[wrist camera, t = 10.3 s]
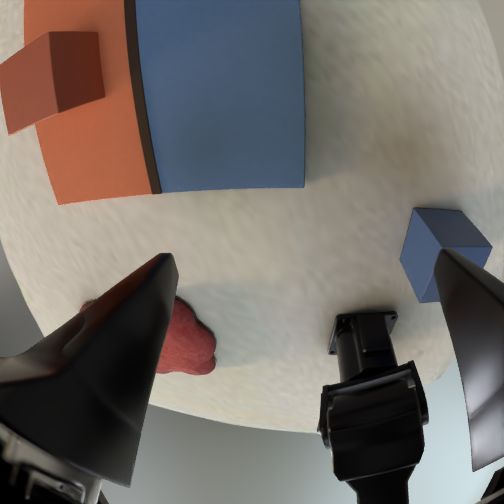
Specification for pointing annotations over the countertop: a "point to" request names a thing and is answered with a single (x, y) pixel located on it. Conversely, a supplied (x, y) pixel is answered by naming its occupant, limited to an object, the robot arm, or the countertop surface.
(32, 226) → the countertop surface
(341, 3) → the countertop surface
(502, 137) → the countertop surface
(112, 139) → the sorting mat
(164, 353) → the red lumpy blob
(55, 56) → the terracotta block
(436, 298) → the slate-blue block
